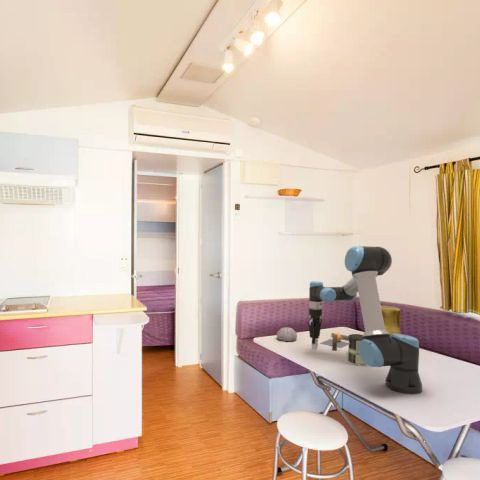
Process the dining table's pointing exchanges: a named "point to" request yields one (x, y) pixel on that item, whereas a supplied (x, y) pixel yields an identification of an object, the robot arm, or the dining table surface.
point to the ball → (338, 337)
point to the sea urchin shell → (286, 334)
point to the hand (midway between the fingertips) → (314, 349)
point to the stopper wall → (342, 336)
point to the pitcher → (391, 319)
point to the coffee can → (355, 350)
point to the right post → (334, 342)
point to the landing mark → (339, 344)
